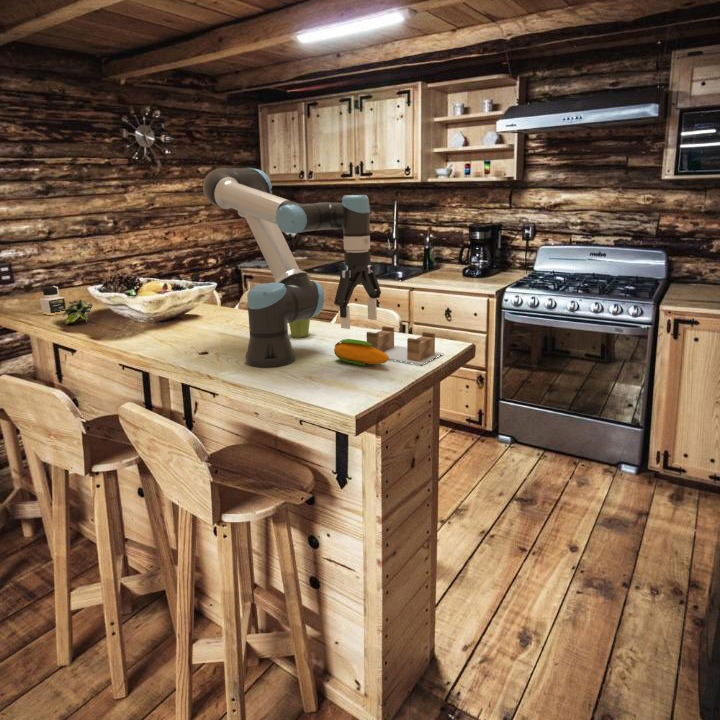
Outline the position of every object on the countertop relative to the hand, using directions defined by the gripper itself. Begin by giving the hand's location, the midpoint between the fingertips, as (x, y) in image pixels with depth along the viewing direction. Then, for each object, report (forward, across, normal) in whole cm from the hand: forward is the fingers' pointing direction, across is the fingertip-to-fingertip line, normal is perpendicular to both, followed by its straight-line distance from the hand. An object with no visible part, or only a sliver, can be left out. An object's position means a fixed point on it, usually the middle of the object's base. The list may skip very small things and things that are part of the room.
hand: (359, 323), depth 179 cm
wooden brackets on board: (+13, +16, -4) cm, 21 cm away
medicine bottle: (+11, -8, +158) cm, 158 cm away
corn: (+13, +1, 0) cm, 13 cm away
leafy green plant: (+11, -12, +130) cm, 132 cm away
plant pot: (+12, +18, +40) cm, 45 cm away
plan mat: (+13, +16, -4) cm, 21 cm away
